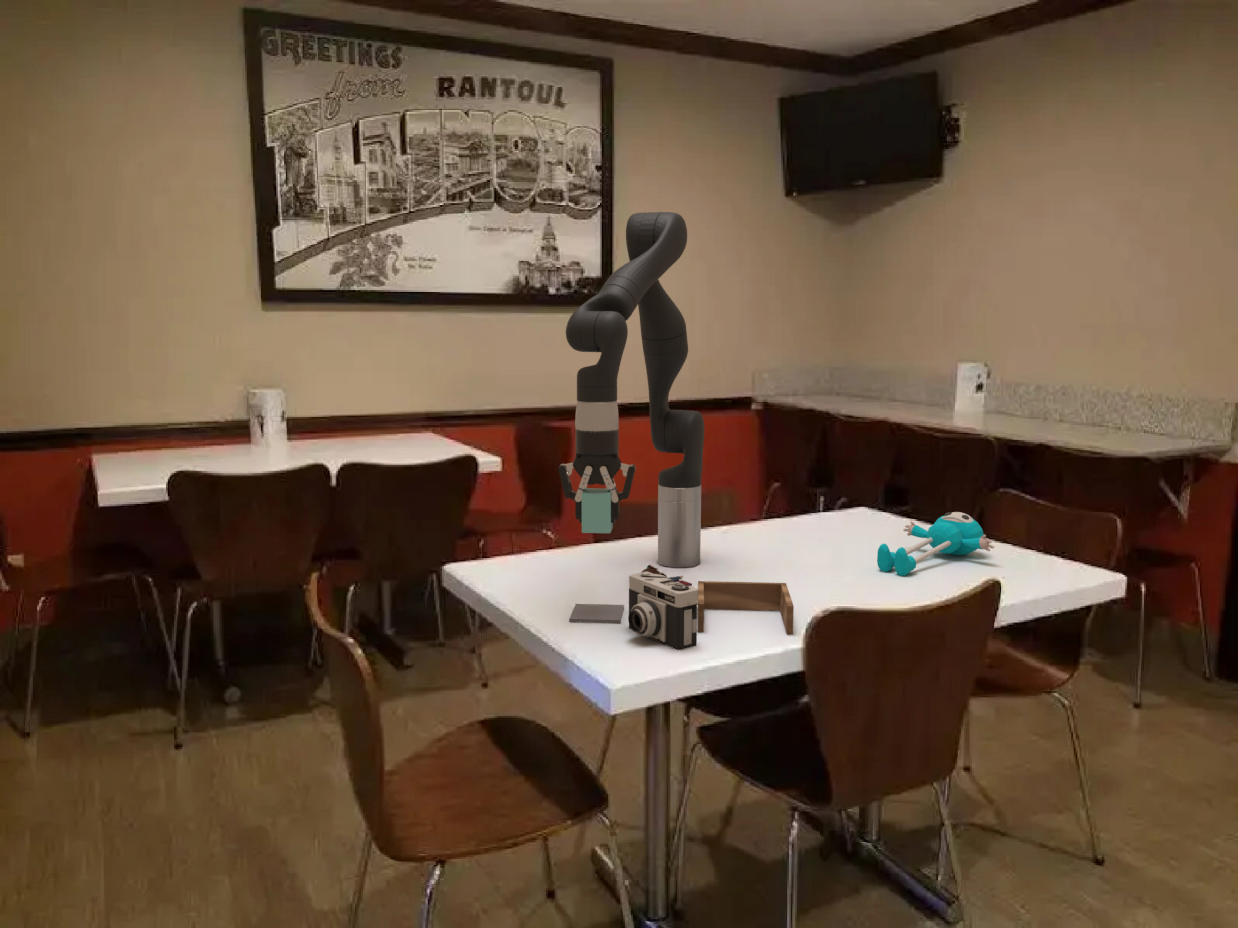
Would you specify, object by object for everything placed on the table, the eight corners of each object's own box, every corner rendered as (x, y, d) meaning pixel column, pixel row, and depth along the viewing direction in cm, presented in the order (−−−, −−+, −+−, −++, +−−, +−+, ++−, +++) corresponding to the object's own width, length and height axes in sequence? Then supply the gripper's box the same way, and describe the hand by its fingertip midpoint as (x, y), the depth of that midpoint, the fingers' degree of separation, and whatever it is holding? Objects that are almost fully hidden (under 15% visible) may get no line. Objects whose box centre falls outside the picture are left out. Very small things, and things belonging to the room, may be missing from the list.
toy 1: (723, 596, 190) (661, 578, 199) (724, 573, 189) (663, 556, 199) (681, 613, 180) (618, 593, 189) (683, 589, 179) (620, 570, 188)
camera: (609, 632, 165) (609, 575, 164) (647, 623, 170) (648, 568, 169) (659, 655, 154) (659, 594, 153) (699, 645, 159) (700, 586, 157)
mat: (575, 606, 179) (575, 603, 179) (624, 608, 179) (624, 604, 179) (569, 622, 170) (569, 618, 170) (620, 623, 170) (620, 620, 170)
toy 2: (845, 537, 209) (923, 500, 227) (847, 580, 211) (925, 540, 230) (937, 557, 192) (1014, 515, 211) (939, 603, 195) (1014, 558, 213)
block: (584, 526, 175) (584, 488, 174) (612, 527, 174) (612, 488, 173) (581, 532, 170) (581, 493, 169) (610, 533, 169) (610, 493, 168)
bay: (697, 607, 179) (698, 581, 178) (785, 609, 178) (785, 583, 177) (697, 631, 165) (698, 603, 165) (792, 634, 164) (793, 605, 163)
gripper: (639, 424, 172) (638, 518, 175) (559, 423, 174) (560, 517, 176) (636, 429, 165) (636, 527, 168) (553, 428, 166) (554, 526, 169)
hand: (597, 521), depth 172 cm, fingers closed on block, 5 cm apart
